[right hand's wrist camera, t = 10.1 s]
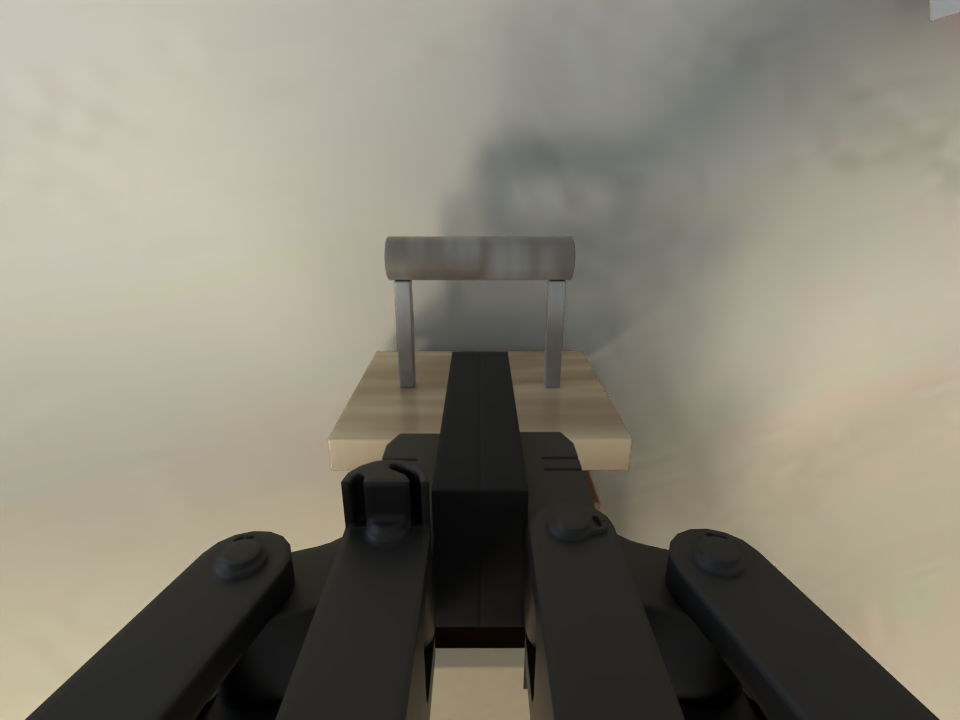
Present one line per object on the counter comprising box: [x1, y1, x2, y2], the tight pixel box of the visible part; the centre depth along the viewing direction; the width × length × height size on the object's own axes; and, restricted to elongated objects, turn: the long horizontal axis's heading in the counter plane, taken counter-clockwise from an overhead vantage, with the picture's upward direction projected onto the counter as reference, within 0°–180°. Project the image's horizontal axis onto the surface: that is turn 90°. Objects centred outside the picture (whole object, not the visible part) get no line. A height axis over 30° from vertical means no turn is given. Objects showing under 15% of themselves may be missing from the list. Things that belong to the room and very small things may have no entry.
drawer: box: [328, 237, 632, 648], centre depth 23 cm, size 25×10×9 cm, turn 0°
